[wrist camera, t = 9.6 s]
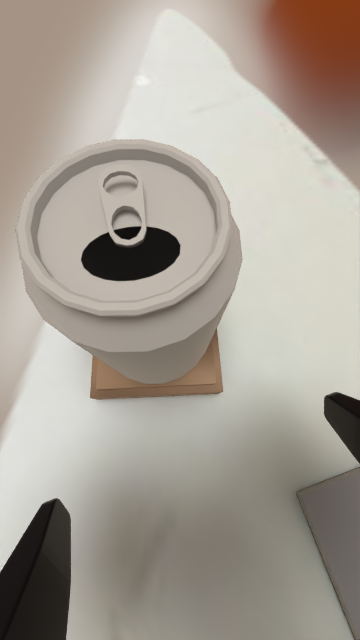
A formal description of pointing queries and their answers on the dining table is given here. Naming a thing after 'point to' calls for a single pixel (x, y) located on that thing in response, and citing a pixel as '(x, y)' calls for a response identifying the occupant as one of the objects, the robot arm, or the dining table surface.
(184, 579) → the dining table surface
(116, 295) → the can
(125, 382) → the plinth
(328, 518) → the slate coaster
